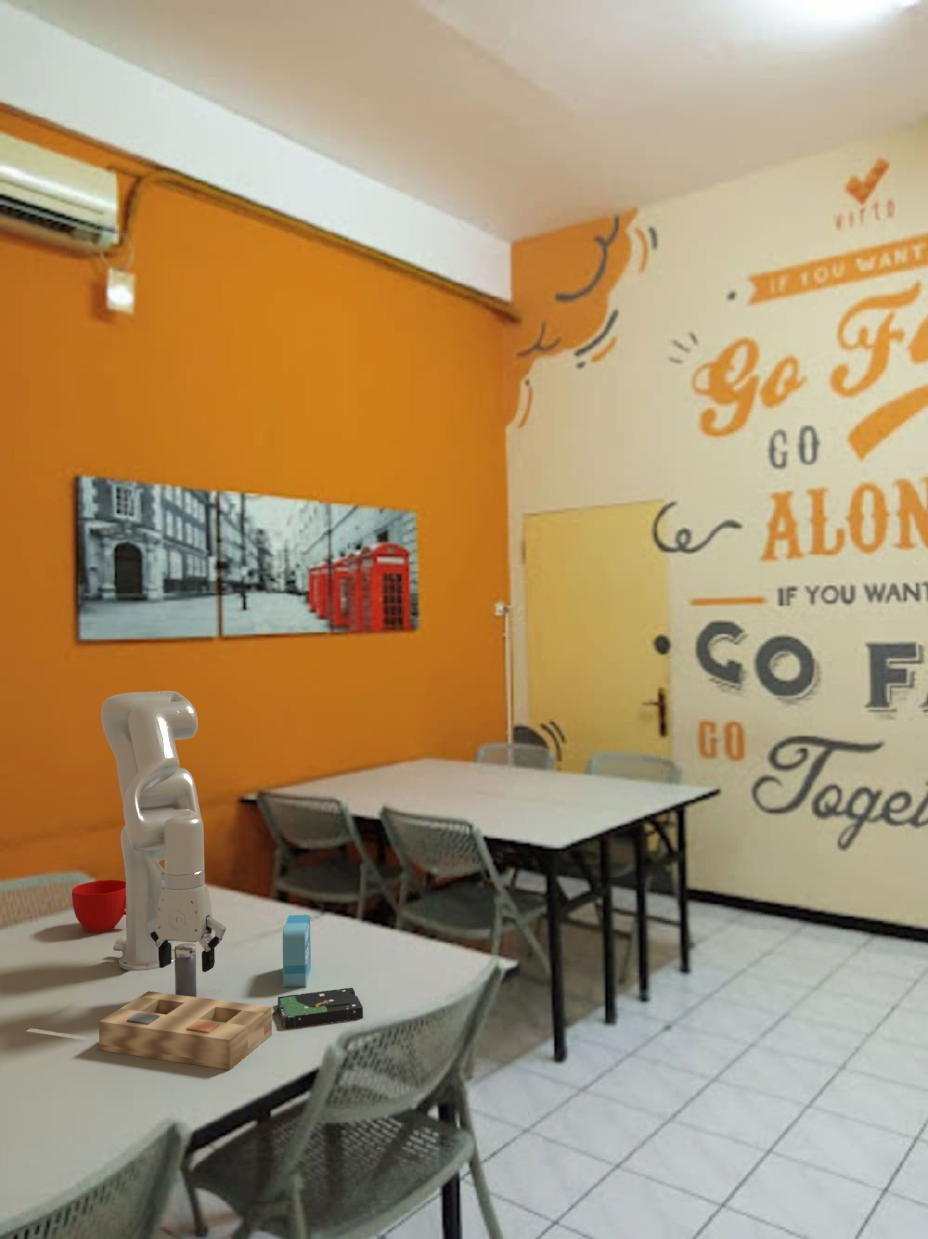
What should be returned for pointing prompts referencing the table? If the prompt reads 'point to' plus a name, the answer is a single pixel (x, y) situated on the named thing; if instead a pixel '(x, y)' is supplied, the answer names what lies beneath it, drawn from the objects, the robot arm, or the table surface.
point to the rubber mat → (202, 992)
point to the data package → (296, 951)
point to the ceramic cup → (99, 904)
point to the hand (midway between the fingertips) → (186, 967)
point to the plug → (185, 969)
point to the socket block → (186, 1029)
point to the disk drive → (319, 1008)
